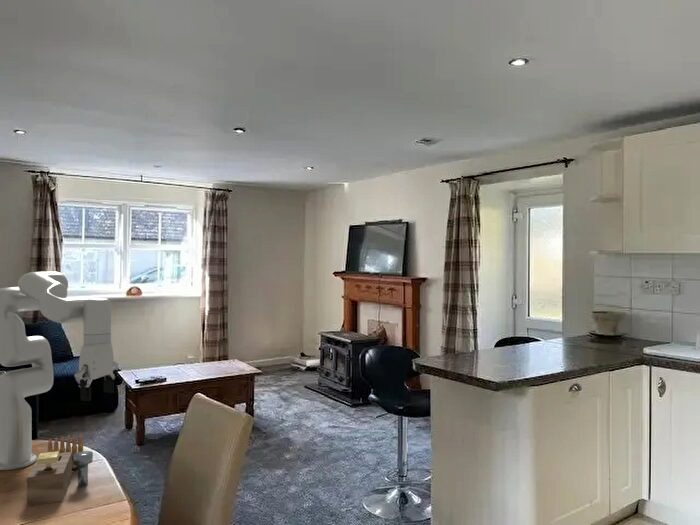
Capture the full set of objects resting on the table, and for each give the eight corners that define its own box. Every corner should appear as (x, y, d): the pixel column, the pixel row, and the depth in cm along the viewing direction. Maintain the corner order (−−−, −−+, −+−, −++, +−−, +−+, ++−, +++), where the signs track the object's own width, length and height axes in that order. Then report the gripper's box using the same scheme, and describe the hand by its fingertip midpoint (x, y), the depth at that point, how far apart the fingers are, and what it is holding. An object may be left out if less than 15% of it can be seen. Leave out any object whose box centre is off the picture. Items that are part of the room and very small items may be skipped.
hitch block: (39, 480, 164) (39, 455, 164) (71, 476, 167) (71, 451, 167) (27, 506, 147) (27, 477, 147) (63, 500, 150) (63, 473, 150)
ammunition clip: (46, 477, 167) (46, 439, 167) (46, 475, 168) (46, 437, 168) (83, 469, 173) (84, 433, 173) (83, 467, 174) (83, 431, 174)
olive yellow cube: (40, 468, 154) (40, 453, 154) (59, 466, 156) (59, 451, 156) (36, 475, 149) (36, 459, 149) (56, 472, 151) (56, 457, 151)
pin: (74, 482, 162) (74, 452, 162) (93, 480, 164) (93, 450, 164) (71, 489, 157) (71, 458, 157) (91, 487, 159) (91, 456, 159)
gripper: (106, 335, 166) (106, 389, 166) (64, 343, 149) (65, 403, 149) (126, 335, 164) (127, 390, 164) (87, 344, 148) (87, 404, 148)
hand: (97, 396), depth 157 cm, fingers open, 9 cm apart
